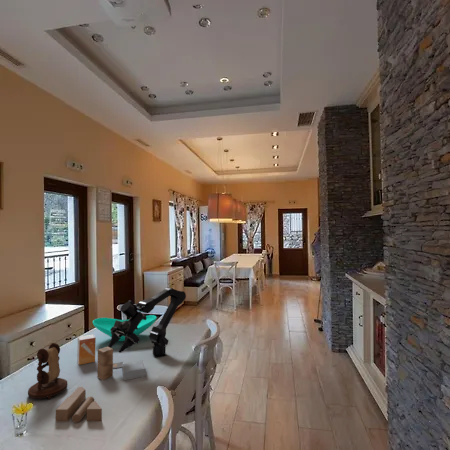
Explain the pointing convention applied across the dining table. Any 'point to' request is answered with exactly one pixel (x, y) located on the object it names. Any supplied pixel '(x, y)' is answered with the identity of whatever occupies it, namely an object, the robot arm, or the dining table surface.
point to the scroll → (48, 374)
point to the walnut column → (105, 363)
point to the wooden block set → (72, 405)
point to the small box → (86, 349)
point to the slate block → (133, 370)
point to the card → (117, 365)
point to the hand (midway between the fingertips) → (113, 350)
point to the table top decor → (108, 323)
